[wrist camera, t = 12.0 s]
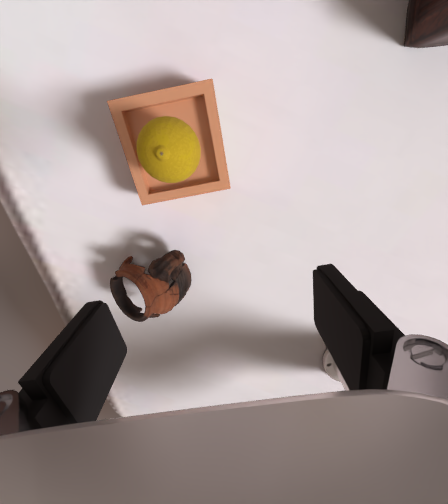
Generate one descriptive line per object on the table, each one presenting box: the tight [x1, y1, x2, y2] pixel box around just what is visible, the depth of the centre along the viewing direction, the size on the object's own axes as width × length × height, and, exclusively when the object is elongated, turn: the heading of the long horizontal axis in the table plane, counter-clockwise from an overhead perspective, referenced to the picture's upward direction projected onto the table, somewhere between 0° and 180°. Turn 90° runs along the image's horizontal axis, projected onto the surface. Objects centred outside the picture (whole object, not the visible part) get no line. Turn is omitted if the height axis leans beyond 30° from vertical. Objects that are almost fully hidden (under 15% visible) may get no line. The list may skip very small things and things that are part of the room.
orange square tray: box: [107, 79, 230, 205], centre depth 26 cm, size 10×10×4 cm
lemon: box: [137, 116, 201, 183], centre depth 21 cm, size 6×6×8 cm
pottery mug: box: [110, 250, 191, 322], centre depth 32 cm, size 12×10×8 cm
